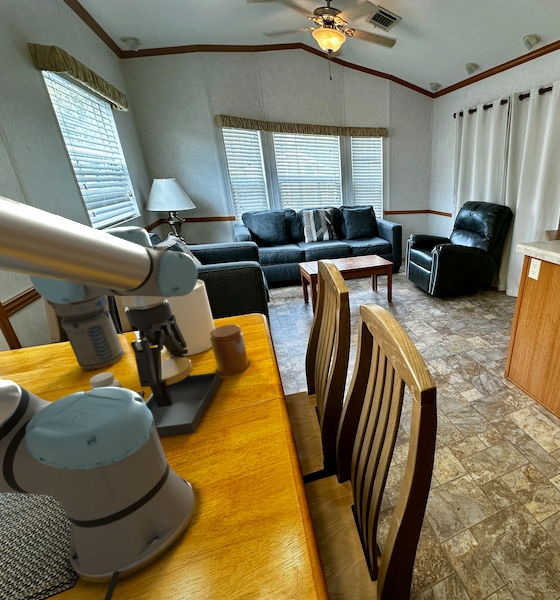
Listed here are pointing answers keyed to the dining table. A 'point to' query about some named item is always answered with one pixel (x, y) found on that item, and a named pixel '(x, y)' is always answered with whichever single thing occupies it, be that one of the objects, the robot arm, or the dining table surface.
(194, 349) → the canister
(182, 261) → the robot arm
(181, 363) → the lid
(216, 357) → the jar
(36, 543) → the dining table surface
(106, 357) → the beverage bottle
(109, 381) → the pill bottle
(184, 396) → the tray
